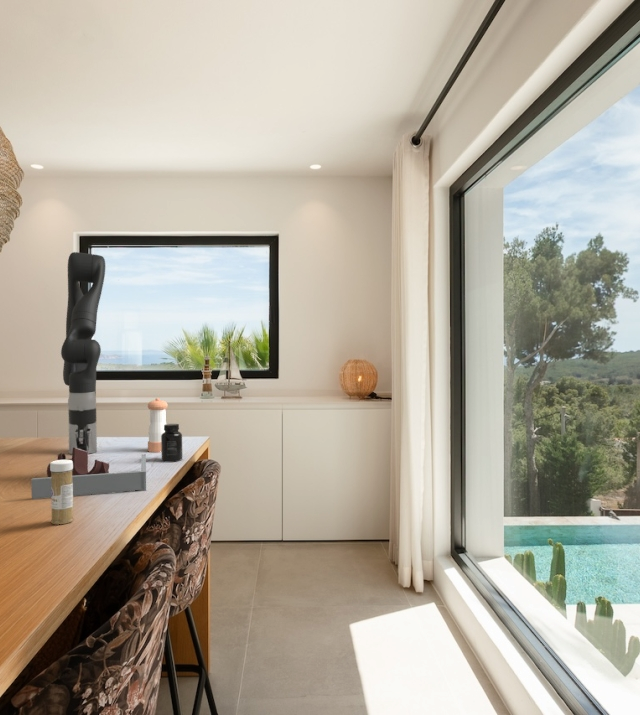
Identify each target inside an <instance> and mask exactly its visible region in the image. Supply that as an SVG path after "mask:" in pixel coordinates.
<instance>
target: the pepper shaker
mask: <svg viewBox="0 0 640 715" xmlns="http://www.w3.org/2000/svg"><path fill="white" fill-rule="evenodd" d="M168 406H169V405H168V403H167V401H165V400H162V399H160V397H158V398H157V397H156V398H155V400H151V401H149V402H148V404H147V408H148V410H149V413H150V414H149V425H148V426H149V427H148V441H147V452H148V451H149V452H148V453H161V452H160V451H161V435H162V434H163V433H164V432H165V430H164V425H165V424H167V419H166V418H167V417H166V416H167V414H166V410H167V409H168Z"/></svg>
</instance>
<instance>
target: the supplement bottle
mask: <svg viewBox="0 0 640 715" xmlns="http://www.w3.org/2000/svg"><path fill="white" fill-rule="evenodd" d="M179 425H180V423H166V424H165V425H164V430H165V432H164V433H163V434H162V435H161V452H160V453H161V461H162V460H163V462H165V461H174V462H177V461H176V460H180V459H182V460H183V434H182V433H181V432H180V431H179V430H180V426H179ZM180 461H181V460H180Z"/></svg>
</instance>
